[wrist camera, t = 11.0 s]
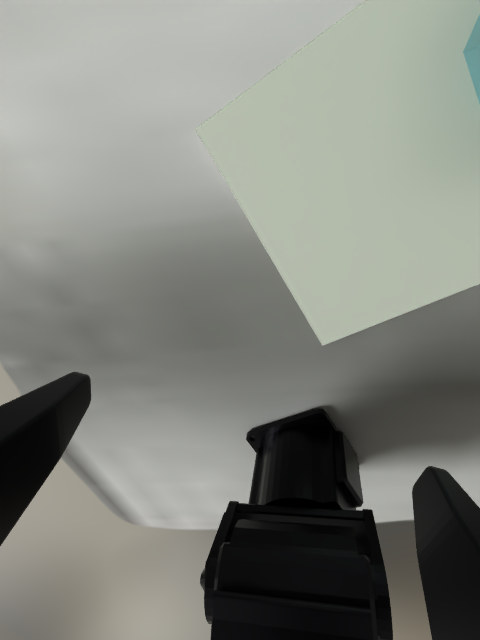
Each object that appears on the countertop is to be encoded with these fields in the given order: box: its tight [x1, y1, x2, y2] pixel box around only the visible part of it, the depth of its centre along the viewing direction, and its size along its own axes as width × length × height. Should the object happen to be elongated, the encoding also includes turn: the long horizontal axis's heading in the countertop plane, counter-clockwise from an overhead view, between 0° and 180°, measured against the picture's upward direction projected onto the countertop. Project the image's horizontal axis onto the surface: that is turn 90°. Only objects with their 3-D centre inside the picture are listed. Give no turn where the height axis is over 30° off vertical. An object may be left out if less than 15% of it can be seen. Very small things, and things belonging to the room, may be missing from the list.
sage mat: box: [195, 0, 480, 346], centre depth 17 cm, size 19×14×1 cm
